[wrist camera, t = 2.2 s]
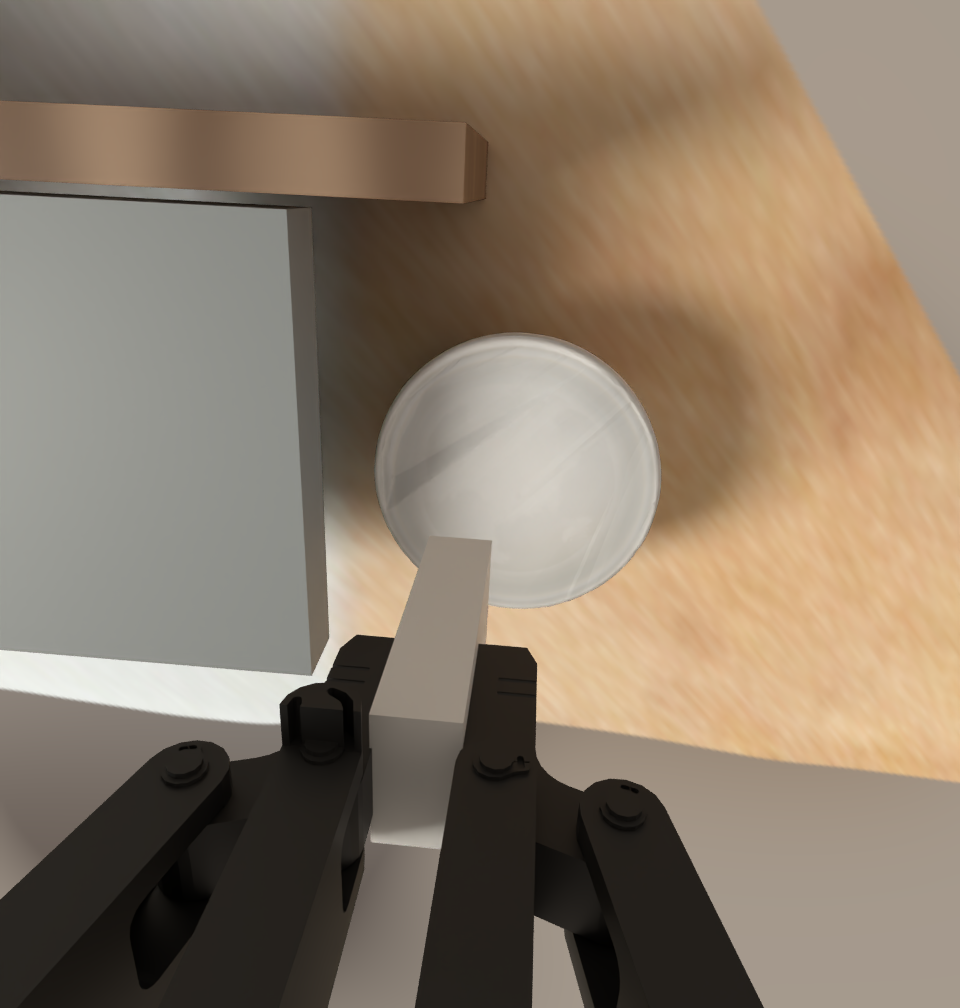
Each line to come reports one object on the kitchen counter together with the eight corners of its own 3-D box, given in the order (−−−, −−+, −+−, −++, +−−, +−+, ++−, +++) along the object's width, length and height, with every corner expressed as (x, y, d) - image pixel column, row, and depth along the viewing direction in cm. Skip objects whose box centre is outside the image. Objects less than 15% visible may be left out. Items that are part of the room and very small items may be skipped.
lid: (39, 614, 30) (-3, 649, 28) (-57, 187, 24) (-121, 187, 21) (329, 637, 29) (311, 675, 27) (311, 207, 23) (286, 209, 21)
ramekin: (446, 272, 30) (429, 288, 26) (690, 374, 31) (718, 408, 27) (364, 501, 35) (336, 552, 30) (580, 584, 36) (587, 646, 31)
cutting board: (-190, 163, 30) (-482, 154, 22) (-205, 108, 30) (-515, 76, 21) (485, 198, 29) (463, 203, 20) (488, 142, 28) (466, 122, 20)
